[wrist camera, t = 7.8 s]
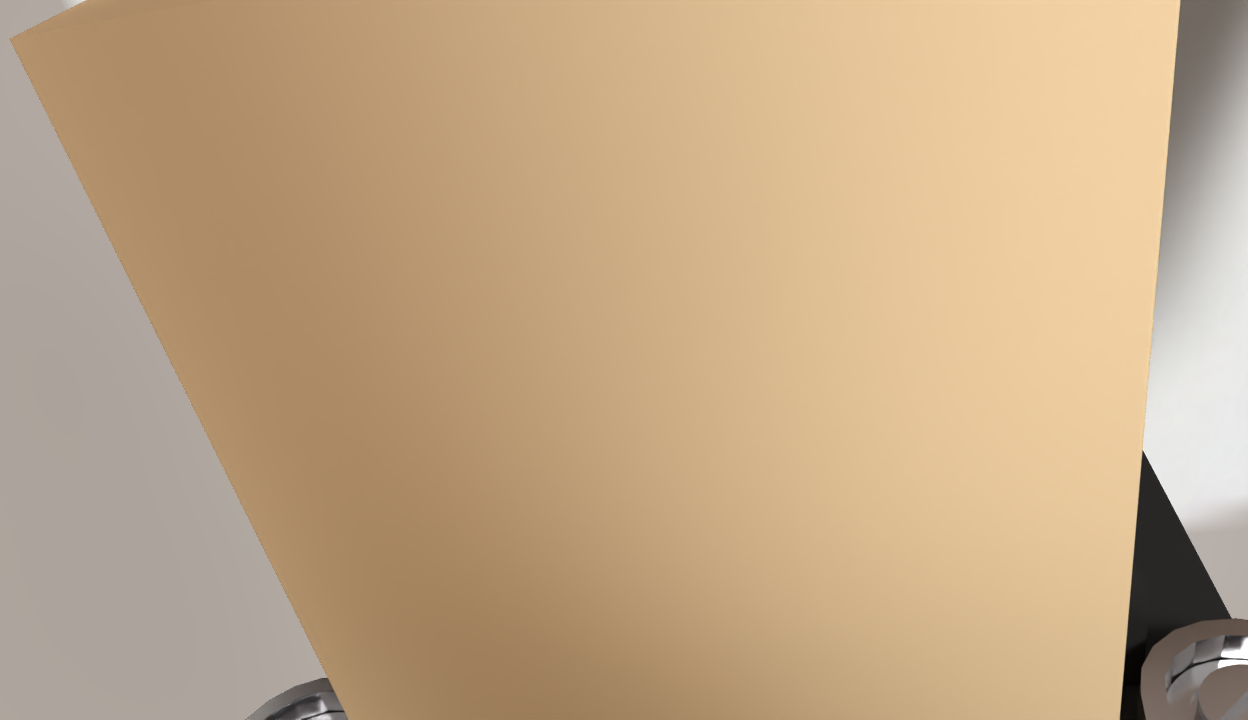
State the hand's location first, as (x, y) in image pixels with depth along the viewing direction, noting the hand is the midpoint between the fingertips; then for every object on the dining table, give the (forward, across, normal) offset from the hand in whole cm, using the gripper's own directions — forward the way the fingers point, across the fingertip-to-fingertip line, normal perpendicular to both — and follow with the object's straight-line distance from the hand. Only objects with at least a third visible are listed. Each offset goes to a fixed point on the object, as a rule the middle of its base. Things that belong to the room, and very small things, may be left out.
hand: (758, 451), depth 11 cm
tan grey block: (+5, 0, 0) cm, 5 cm away
